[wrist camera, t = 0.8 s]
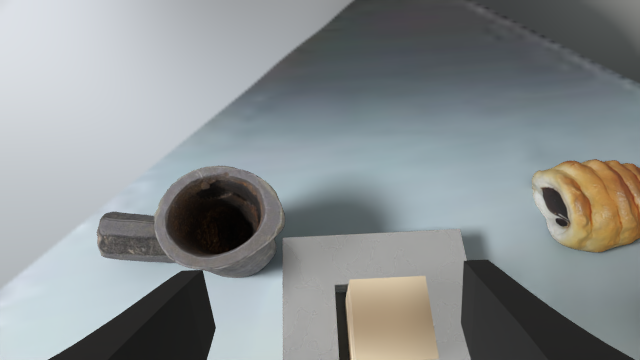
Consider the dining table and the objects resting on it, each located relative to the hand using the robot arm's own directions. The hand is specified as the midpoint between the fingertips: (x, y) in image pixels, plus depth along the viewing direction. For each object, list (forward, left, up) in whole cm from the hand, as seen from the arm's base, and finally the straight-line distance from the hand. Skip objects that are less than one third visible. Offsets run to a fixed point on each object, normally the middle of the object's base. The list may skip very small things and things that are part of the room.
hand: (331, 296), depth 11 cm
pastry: (+9, -20, -17) cm, 28 cm away
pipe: (+7, +9, -17) cm, 20 cm away
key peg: (+1, -3, -17) cm, 17 cm away
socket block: (+1, -3, -17) cm, 17 cm away
